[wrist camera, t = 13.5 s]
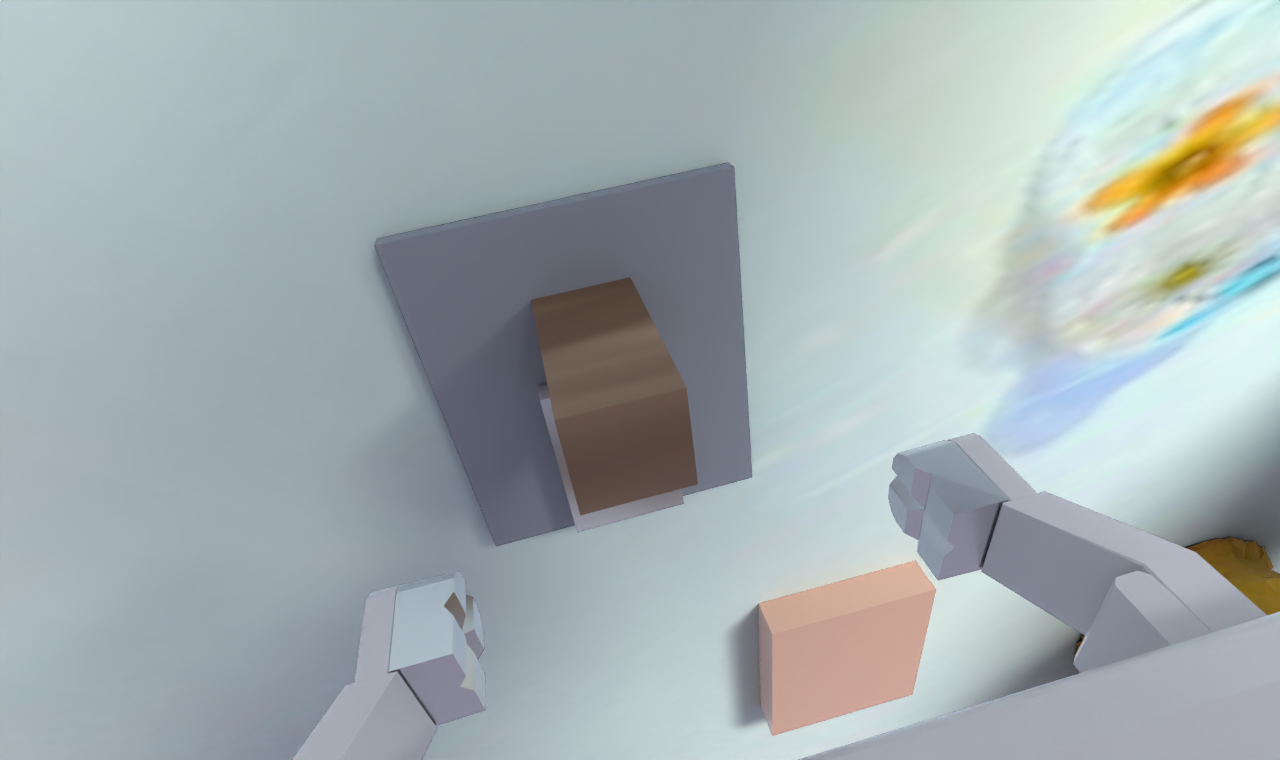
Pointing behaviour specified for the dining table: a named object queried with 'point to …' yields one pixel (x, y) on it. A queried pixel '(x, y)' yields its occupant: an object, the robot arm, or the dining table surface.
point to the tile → (842, 646)
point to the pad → (559, 262)
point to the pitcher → (1242, 570)
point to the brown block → (613, 404)
